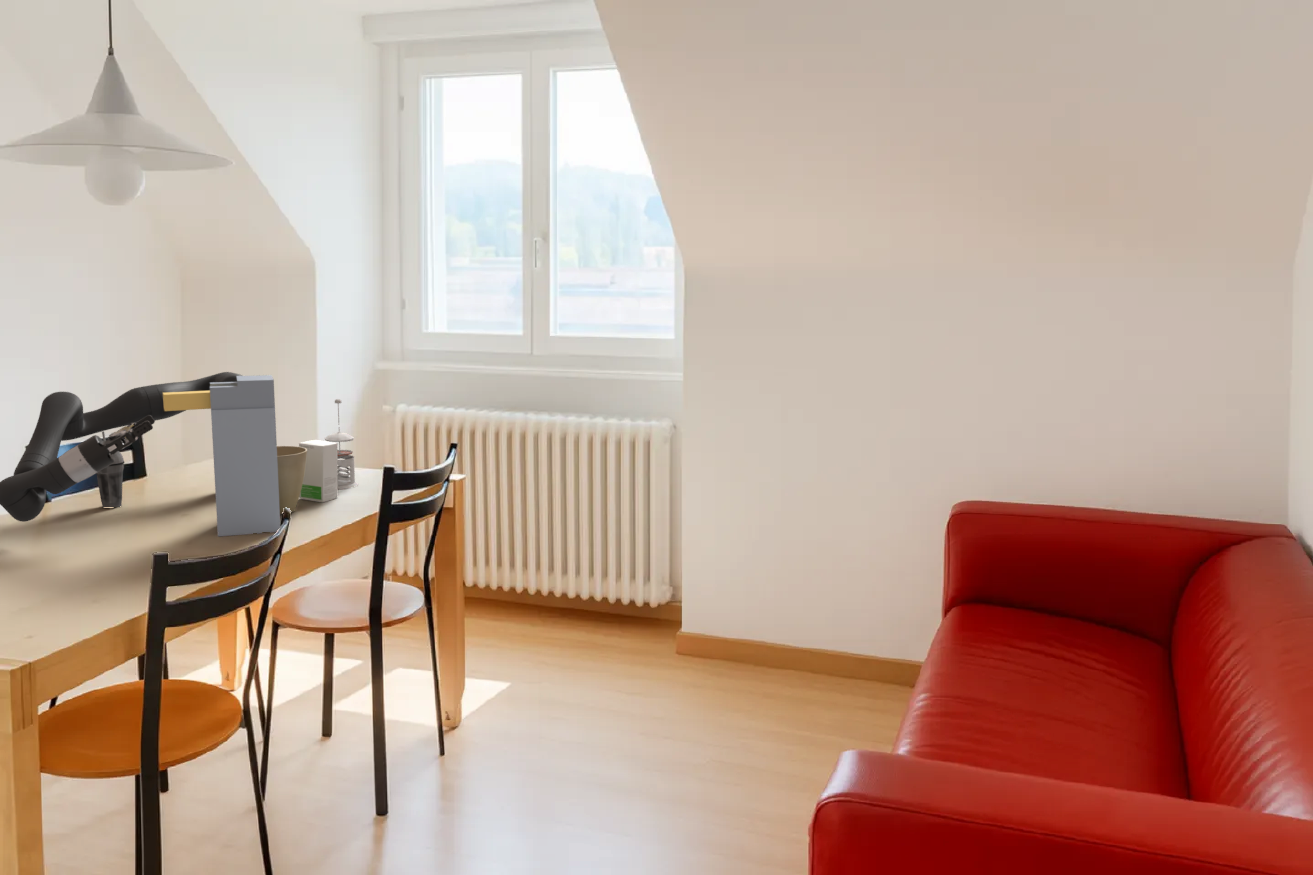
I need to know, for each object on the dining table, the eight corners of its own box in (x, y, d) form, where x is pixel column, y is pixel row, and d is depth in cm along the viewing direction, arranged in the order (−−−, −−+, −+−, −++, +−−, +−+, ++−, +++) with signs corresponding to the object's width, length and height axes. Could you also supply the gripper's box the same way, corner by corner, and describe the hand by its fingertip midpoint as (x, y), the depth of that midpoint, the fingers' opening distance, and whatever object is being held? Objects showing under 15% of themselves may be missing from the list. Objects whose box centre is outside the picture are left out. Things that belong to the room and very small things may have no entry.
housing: (217, 536, 260) (209, 382, 254) (217, 525, 270) (209, 376, 264) (280, 531, 265) (273, 380, 259) (278, 520, 275) (271, 374, 269)
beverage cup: (134, 504, 289) (128, 429, 286) (112, 511, 282) (106, 434, 279) (112, 502, 291) (106, 427, 288) (89, 508, 285) (84, 432, 281)
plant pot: (292, 502, 295) (290, 443, 292) (319, 512, 284) (317, 451, 282) (238, 510, 285) (235, 450, 282) (264, 521, 274) (261, 458, 271)
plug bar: (164, 411, 253) (163, 394, 252) (163, 408, 256) (162, 392, 256) (274, 405, 264) (273, 389, 263) (271, 403, 267) (271, 387, 266)
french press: (353, 489, 311) (350, 401, 307) (312, 488, 311) (308, 400, 307) (362, 482, 321) (360, 396, 317) (323, 481, 321) (320, 396, 317)
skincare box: (298, 499, 298) (296, 442, 295) (315, 494, 304) (312, 439, 301) (324, 502, 295) (322, 445, 292) (340, 497, 301) (338, 441, 298)
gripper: (72, 451, 244) (140, 412, 248) (79, 440, 257) (143, 403, 261) (94, 478, 246) (160, 439, 250) (99, 466, 260) (162, 429, 263)
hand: (151, 421), depth 255 cm, fingers open, 8 cm apart
